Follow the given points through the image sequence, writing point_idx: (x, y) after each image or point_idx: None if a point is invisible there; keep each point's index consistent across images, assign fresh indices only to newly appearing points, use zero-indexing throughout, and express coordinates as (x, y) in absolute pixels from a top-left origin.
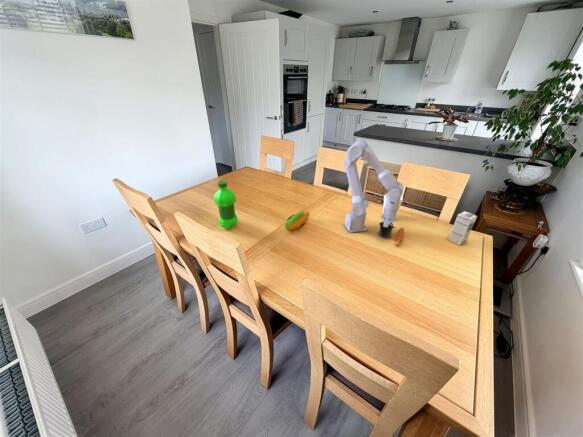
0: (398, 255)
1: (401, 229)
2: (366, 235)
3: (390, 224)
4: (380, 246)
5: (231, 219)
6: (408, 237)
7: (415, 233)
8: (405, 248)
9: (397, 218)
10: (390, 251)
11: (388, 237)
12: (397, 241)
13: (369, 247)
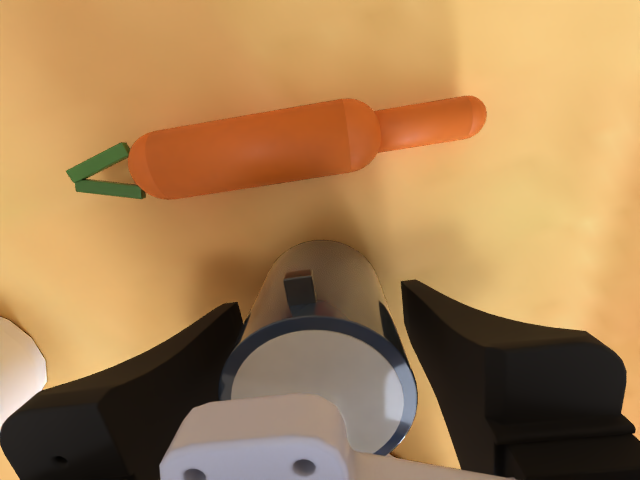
0: (637, 44)
1: (149, 175)
2: (431, 408)
3: (298, 363)
4: (548, 261)
5: None
6: (188, 59)
7: (30, 6)
8: (448, 15)
9: (244, 461)
10: (594, 149)
11: (352, 249)
12: (432, 134)
13: (612, 333)
